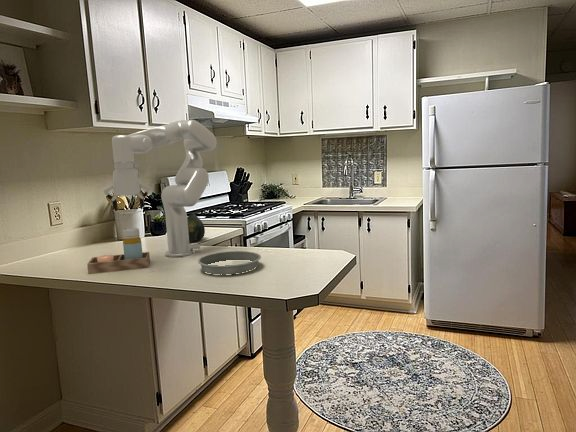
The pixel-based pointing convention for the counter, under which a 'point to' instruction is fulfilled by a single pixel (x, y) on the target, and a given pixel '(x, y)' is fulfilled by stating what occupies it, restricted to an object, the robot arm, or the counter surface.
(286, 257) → the counter surface
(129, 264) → the caddy
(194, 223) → the squash
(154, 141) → the robot arm
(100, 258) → the pink small block
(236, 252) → the cake pan
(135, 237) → the bottle
